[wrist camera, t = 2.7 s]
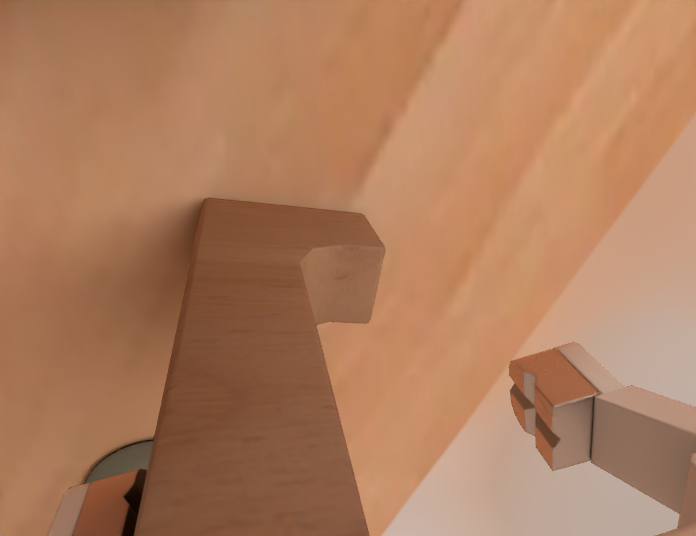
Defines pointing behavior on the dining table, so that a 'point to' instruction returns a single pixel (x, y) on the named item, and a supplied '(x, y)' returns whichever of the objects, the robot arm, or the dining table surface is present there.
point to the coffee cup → (123, 461)
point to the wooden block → (260, 377)
